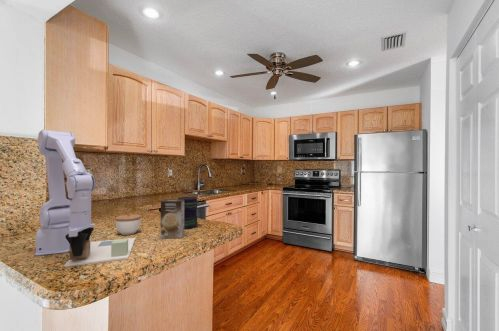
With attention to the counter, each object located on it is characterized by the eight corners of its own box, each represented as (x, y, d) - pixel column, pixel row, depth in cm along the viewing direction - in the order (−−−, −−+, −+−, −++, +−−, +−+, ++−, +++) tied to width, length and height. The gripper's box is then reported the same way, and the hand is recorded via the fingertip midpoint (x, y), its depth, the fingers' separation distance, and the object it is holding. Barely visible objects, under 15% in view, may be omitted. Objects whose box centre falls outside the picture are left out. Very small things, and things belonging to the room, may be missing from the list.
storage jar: (200, 227, 119) (200, 198, 120) (180, 230, 115) (180, 199, 115) (194, 223, 128) (194, 196, 128) (175, 226, 123) (175, 197, 123)
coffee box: (159, 238, 101) (159, 201, 101) (164, 234, 107) (164, 199, 108) (181, 238, 101) (181, 200, 102) (184, 234, 108) (184, 199, 108)
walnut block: (69, 259, 74) (69, 245, 74) (74, 255, 79) (74, 241, 79) (86, 258, 76) (86, 244, 76) (90, 253, 80) (90, 240, 80)
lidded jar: (131, 229, 117) (131, 210, 117) (146, 231, 112) (146, 212, 112) (109, 234, 108) (110, 214, 108) (125, 237, 103) (125, 216, 103)
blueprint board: (63, 267, 72) (63, 264, 72) (86, 243, 94) (86, 242, 94) (128, 259, 78) (128, 257, 78) (135, 239, 101) (135, 237, 101)
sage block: (111, 257, 78) (111, 243, 78) (113, 252, 83) (113, 239, 83) (126, 255, 80) (126, 241, 80) (128, 251, 84) (128, 238, 84)
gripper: (88, 214, 72) (88, 259, 72) (100, 207, 86) (99, 244, 85) (60, 216, 70) (60, 262, 69) (76, 208, 83) (76, 247, 83)
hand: (80, 253), depth 77 cm, fingers closed on walnut block, 4 cm apart
